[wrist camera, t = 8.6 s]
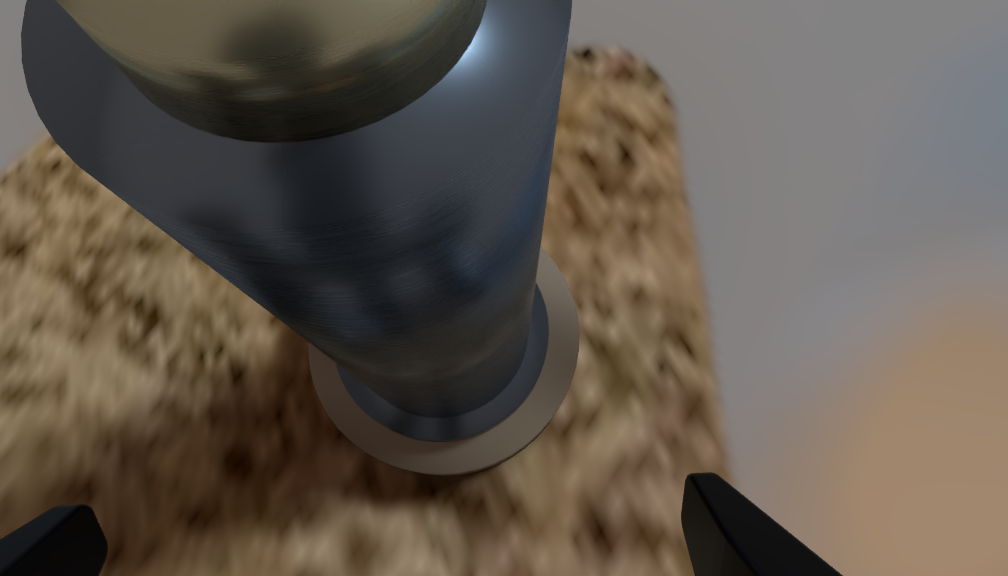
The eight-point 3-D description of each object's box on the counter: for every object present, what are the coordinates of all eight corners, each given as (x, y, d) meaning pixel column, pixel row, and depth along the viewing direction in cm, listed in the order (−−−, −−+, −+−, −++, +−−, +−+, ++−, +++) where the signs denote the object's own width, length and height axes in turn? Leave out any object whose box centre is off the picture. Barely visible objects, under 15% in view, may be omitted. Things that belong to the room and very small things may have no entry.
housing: (454, 489, 16) (221, 471, 3) (296, 350, 18) (-332, -79, 4) (588, 321, 18) (817, -166, 5) (435, 205, 19) (278, -419, 6)
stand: (538, 508, 18) (542, 509, 16) (288, 435, 19) (264, 428, 17) (595, 267, 21) (604, 244, 19) (375, 212, 21) (363, 185, 20)
